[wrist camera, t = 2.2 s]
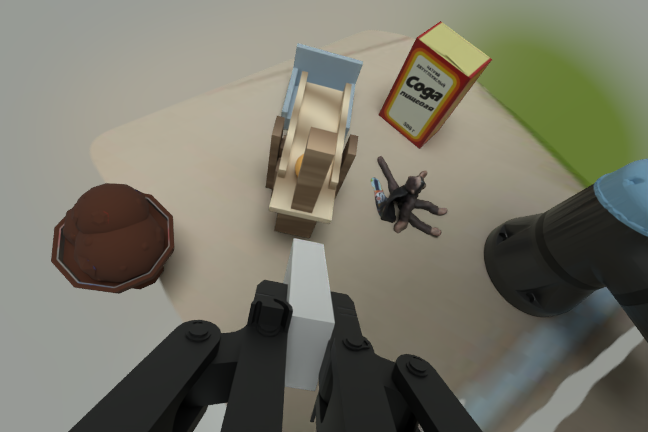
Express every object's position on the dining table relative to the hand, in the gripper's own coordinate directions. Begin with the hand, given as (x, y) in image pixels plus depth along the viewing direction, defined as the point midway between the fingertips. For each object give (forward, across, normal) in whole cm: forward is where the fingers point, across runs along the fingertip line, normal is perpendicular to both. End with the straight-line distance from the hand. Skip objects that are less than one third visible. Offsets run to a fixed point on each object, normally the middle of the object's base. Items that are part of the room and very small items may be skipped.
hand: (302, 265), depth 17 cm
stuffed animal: (+38, +17, -3) cm, 41 cm away
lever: (+29, +1, +3) cm, 29 cm away
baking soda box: (+49, +18, +9) cm, 52 cm away
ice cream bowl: (+24, -17, -16) cm, 34 cm away
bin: (+46, +1, +7) cm, 47 cm away
